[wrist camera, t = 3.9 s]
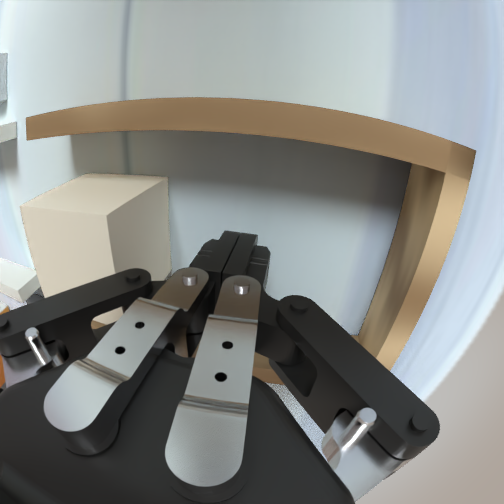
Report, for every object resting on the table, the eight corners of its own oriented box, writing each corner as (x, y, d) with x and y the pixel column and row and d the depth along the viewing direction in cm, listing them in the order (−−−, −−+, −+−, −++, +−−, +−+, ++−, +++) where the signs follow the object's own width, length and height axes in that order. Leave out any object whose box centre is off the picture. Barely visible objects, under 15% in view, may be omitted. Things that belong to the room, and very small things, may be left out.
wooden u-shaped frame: (69, 109, 13) (25, 117, 10) (438, 138, 11) (476, 150, 8) (94, 299, 19) (69, 328, 16) (369, 350, 17) (376, 392, 14)
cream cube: (87, 173, 15) (19, 205, 10) (168, 176, 14) (106, 215, 9) (98, 254, 17) (46, 303, 12) (172, 269, 17) (128, 331, 12)
